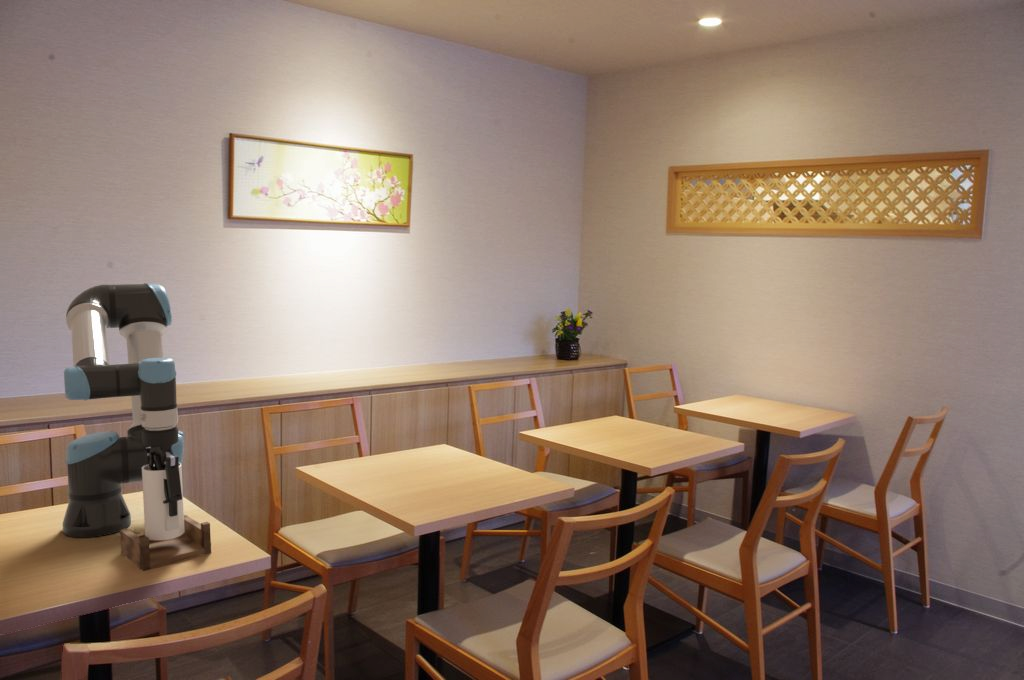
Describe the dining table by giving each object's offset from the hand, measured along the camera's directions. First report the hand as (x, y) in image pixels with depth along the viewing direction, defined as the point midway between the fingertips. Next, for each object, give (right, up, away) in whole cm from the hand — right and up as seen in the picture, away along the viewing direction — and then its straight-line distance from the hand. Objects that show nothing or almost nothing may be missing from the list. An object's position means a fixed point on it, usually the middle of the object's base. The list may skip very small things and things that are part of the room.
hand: (164, 524), depth 181 cm
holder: (0, -7, +1) cm, 7 cm away
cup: (0, -3, 0) cm, 2 cm away
